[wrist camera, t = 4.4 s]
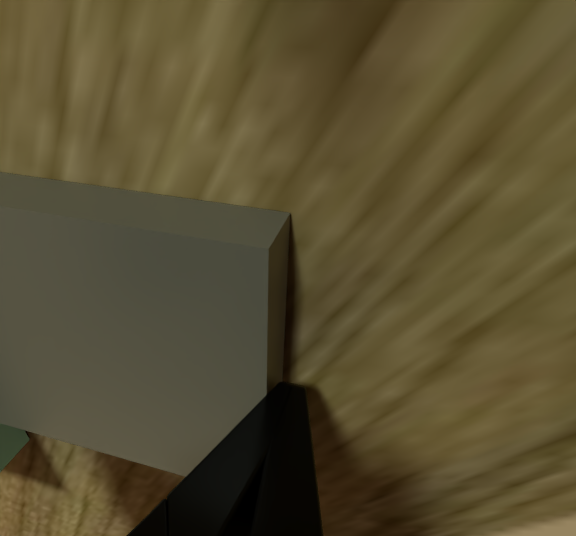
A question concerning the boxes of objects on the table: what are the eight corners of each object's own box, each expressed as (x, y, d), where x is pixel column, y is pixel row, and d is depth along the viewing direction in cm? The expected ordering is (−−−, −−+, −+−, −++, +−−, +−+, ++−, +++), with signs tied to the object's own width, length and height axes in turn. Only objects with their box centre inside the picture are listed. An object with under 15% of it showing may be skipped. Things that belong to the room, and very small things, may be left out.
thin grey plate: (290, 212, 7) (268, 248, 6) (278, 450, 12) (264, 499, 10) (-138, 152, 9) (-220, 171, 8) (-13, 374, 14) (-53, 407, 12)
